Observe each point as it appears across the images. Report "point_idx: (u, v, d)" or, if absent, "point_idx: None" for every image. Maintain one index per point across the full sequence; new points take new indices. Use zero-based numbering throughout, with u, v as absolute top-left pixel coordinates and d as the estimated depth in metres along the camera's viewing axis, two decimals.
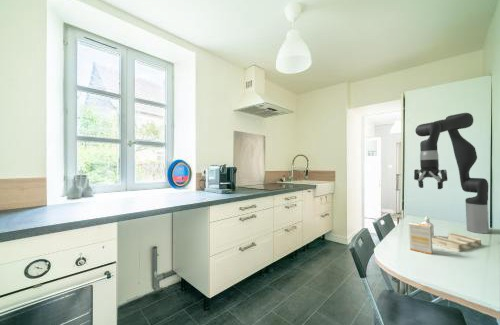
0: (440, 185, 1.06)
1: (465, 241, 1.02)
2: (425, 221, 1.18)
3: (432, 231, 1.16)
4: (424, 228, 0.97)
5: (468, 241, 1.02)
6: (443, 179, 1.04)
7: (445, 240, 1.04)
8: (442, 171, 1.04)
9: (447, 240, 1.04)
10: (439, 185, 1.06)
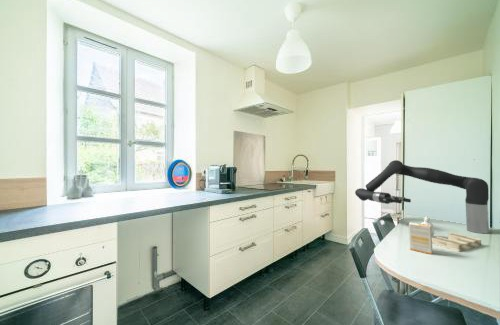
0: (397, 202, 1.29)
1: (465, 241, 1.02)
2: (425, 221, 1.18)
3: (432, 231, 1.16)
4: (424, 228, 0.97)
5: (468, 241, 1.02)
6: None
7: (445, 240, 1.04)
8: None
9: (447, 240, 1.04)
10: (397, 202, 1.29)
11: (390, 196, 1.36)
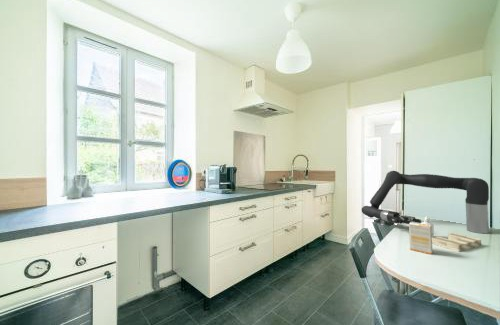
0: (407, 223, 1.24)
1: (465, 241, 1.02)
2: (425, 221, 1.18)
3: (432, 231, 1.16)
4: (424, 228, 0.97)
5: (468, 241, 1.02)
6: None
7: (445, 240, 1.04)
8: None
9: (447, 240, 1.04)
10: (407, 223, 1.24)
11: (399, 216, 1.31)
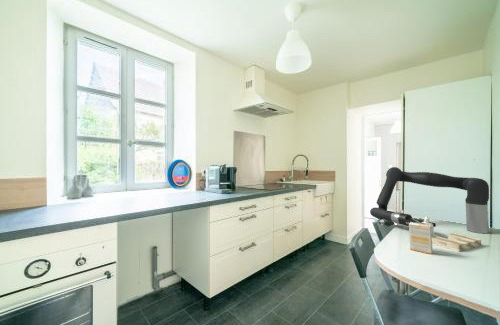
0: None
1: (465, 241, 1.02)
2: (425, 221, 1.18)
3: (432, 231, 1.16)
4: (424, 228, 0.97)
5: (468, 241, 1.02)
6: None
7: (445, 240, 1.04)
8: None
9: (447, 240, 1.04)
10: None
11: (412, 218, 1.24)
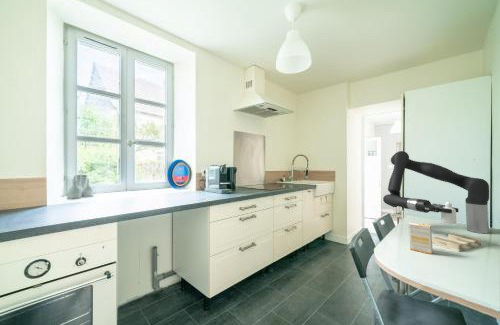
0: (445, 212, 1.07)
1: (465, 241, 1.02)
2: (447, 206, 1.08)
3: (454, 217, 1.07)
4: (424, 228, 0.97)
5: (468, 241, 1.02)
6: None
7: (445, 240, 1.04)
8: None
9: (447, 240, 1.04)
10: (446, 212, 1.07)
11: (431, 204, 1.14)
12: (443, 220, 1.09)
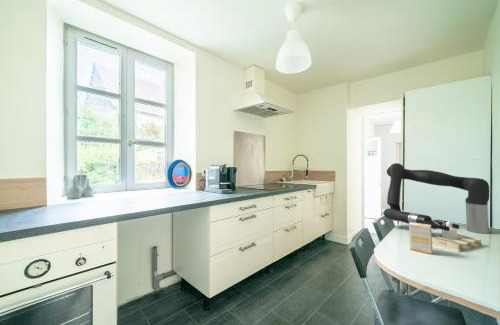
0: (443, 229, 1.07)
1: (465, 241, 1.02)
2: None
3: (455, 237, 1.06)
4: (424, 228, 0.97)
5: (468, 241, 1.02)
6: None
7: (445, 240, 1.04)
8: None
9: (447, 240, 1.04)
10: (444, 229, 1.07)
11: (432, 220, 1.14)
12: None
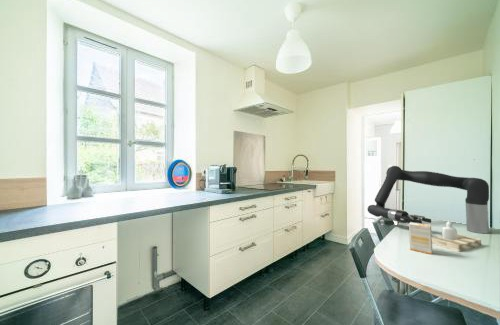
0: None
1: (465, 241, 1.02)
2: (447, 226, 1.08)
3: (455, 237, 1.06)
4: (424, 228, 0.97)
5: (468, 241, 1.02)
6: None
7: (445, 240, 1.04)
8: None
9: (447, 240, 1.04)
10: None
11: (408, 215, 1.26)
12: None
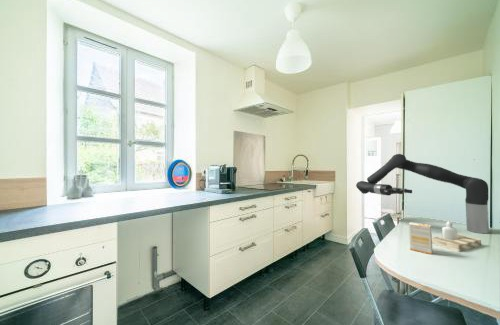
0: (398, 193, 1.28)
1: (465, 241, 1.02)
2: (447, 226, 1.08)
3: (455, 237, 1.06)
4: (424, 228, 0.97)
5: (468, 241, 1.02)
6: (391, 193, 1.31)
7: (445, 240, 1.04)
8: (385, 192, 1.35)
9: (447, 240, 1.04)
10: (399, 193, 1.28)
11: (391, 187, 1.36)
12: None
